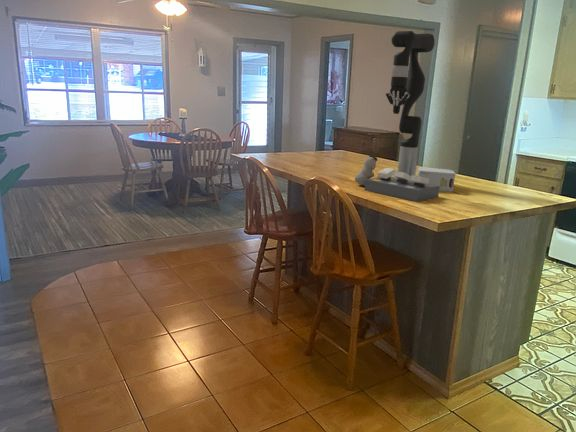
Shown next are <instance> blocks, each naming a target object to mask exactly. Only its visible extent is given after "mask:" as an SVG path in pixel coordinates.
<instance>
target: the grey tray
mask: <svg viewBox="0 0 576 432" xmlns="http://www.w3.org/2000/svg"><path fill="white" fill-rule="evenodd" d="M439 188H440V186H438V185H433V184H426V183H421V182H416V181H407V180H402V179H399V178H397V177H395V176H391V177H389V178H387V179H385V178H380V177H378V176H377V177H372V178H370V179H366V180H365V186H364V191H367V192H372V193H376V194H380V195H385V196H390V197H393V198H397V199H402V200H407V201H411V202H416V203H417V202H422V201H425V200H429V199H433V198H434V197H435V198H438V197H439V193H440V191H439Z"/></svg>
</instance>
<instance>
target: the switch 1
mask: <svg viewBox="0 0 576 432" xmlns="http://www.w3.org/2000/svg"><path fill="white" fill-rule="evenodd" d="M395 171H396V168H395V169H394V168H389V167H384V168H382V169H380V170H379V171H377V178H378V177H380V178H385V179H387V178H389V177H393V176H394V172H395Z"/></svg>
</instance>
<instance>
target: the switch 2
mask: <svg viewBox="0 0 576 432" xmlns="http://www.w3.org/2000/svg"><path fill="white" fill-rule="evenodd" d="M393 177H396V178H399V179H402V180H407V181H411V176H410V175H408V174H406V173H404V172H398V170H395V172H394V175H393Z"/></svg>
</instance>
